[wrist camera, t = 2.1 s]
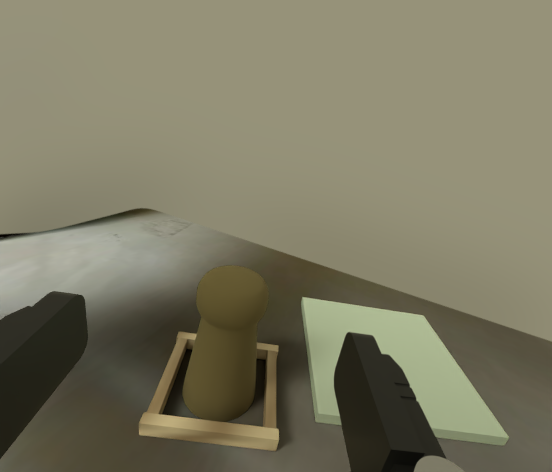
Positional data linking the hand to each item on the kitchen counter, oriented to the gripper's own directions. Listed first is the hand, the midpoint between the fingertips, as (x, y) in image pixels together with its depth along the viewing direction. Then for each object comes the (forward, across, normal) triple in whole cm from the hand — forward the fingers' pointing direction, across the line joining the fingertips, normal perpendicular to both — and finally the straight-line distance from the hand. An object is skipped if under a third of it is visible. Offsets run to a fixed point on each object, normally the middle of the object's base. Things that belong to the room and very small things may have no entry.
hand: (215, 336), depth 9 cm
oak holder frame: (+12, 0, +15) cm, 19 cm away
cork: (+12, 0, +16) cm, 19 cm away
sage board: (+18, -16, +15) cm, 28 cm away
